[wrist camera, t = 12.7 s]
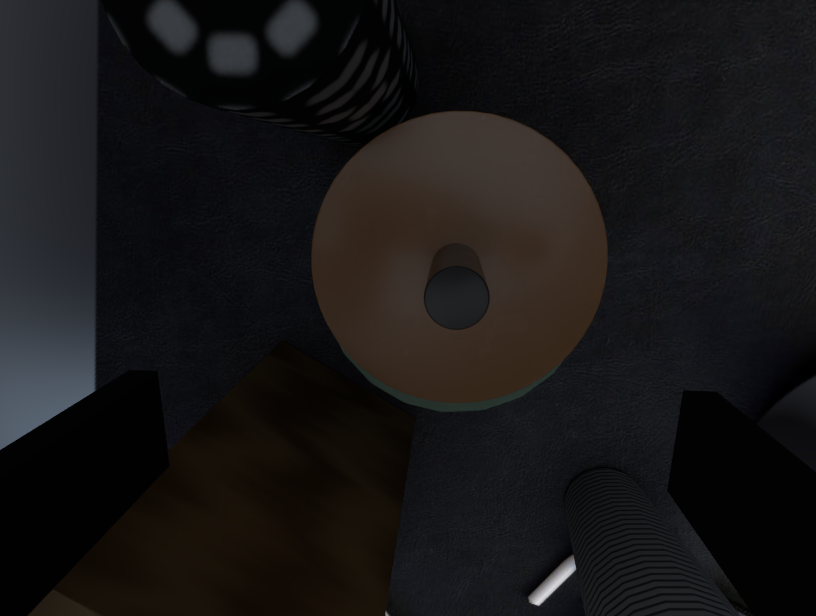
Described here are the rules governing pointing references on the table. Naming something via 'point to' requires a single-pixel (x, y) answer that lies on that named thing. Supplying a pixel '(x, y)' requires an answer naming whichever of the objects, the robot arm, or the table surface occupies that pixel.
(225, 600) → the stand
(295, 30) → the spotted tube
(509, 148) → the lid
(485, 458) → the table surface
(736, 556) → the robot arm
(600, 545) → the cup
